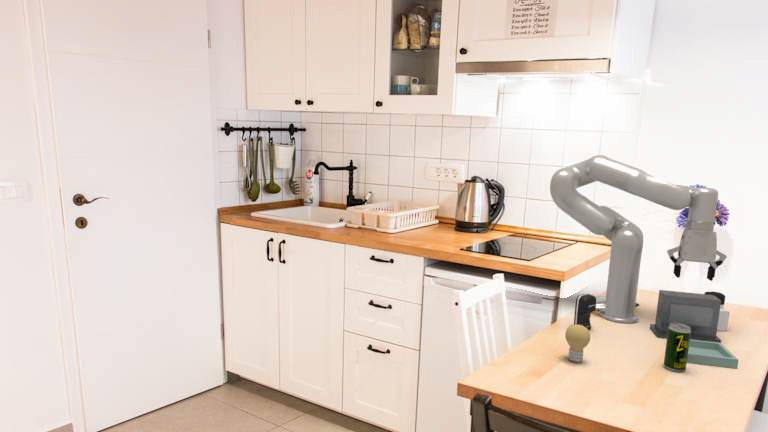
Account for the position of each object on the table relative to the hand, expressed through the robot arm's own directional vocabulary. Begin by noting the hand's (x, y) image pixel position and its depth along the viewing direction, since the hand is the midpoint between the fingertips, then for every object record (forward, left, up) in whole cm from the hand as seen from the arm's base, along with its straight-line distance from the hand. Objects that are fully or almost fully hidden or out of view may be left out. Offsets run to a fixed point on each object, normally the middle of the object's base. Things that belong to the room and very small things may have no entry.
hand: (693, 278), depth 181 cm
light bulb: (-40, -40, -18) cm, 59 cm away
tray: (-3, -25, -17) cm, 31 cm away
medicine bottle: (+9, +5, -18) cm, 20 cm away
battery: (-34, -13, -18) cm, 40 cm away
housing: (-3, -8, -17) cm, 19 cm away
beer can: (-14, -37, -18) cm, 43 cm away
